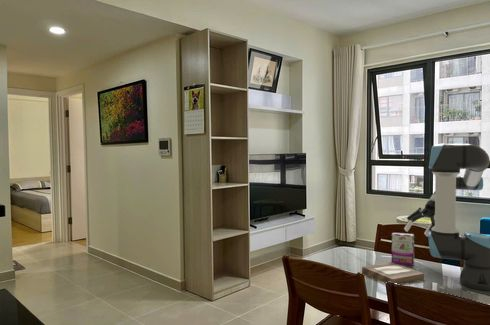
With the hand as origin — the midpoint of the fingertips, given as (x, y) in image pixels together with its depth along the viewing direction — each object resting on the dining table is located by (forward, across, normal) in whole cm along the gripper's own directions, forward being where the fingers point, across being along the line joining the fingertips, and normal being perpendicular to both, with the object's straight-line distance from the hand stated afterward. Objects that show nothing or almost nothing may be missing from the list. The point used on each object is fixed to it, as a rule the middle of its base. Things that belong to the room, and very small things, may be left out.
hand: (415, 232), depth 203 cm
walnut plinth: (+33, -14, +10) cm, 37 cm away
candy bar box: (+18, 0, -5) cm, 19 cm away
